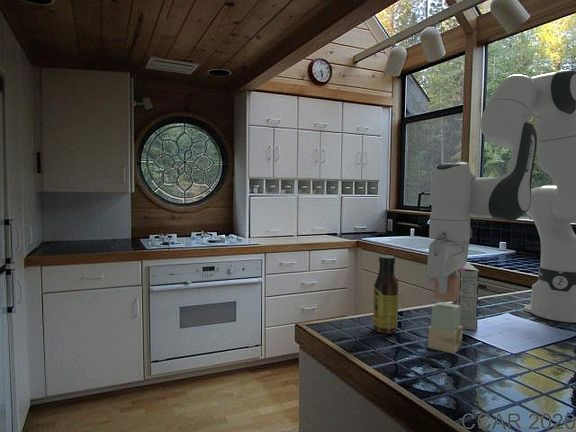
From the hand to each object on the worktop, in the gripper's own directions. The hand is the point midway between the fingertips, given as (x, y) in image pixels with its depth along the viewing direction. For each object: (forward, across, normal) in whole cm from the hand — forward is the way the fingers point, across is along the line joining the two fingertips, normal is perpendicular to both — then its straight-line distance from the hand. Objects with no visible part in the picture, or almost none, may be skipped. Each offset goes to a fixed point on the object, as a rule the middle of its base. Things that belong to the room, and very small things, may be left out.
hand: (447, 290), depth 100 cm
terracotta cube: (+2, 0, 0) cm, 2 cm away
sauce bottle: (+14, +2, +16) cm, 21 cm away
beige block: (+14, 0, 0) cm, 14 cm away
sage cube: (+9, 0, 0) cm, 9 cm away
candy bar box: (+14, +21, +1) cm, 25 cm away
